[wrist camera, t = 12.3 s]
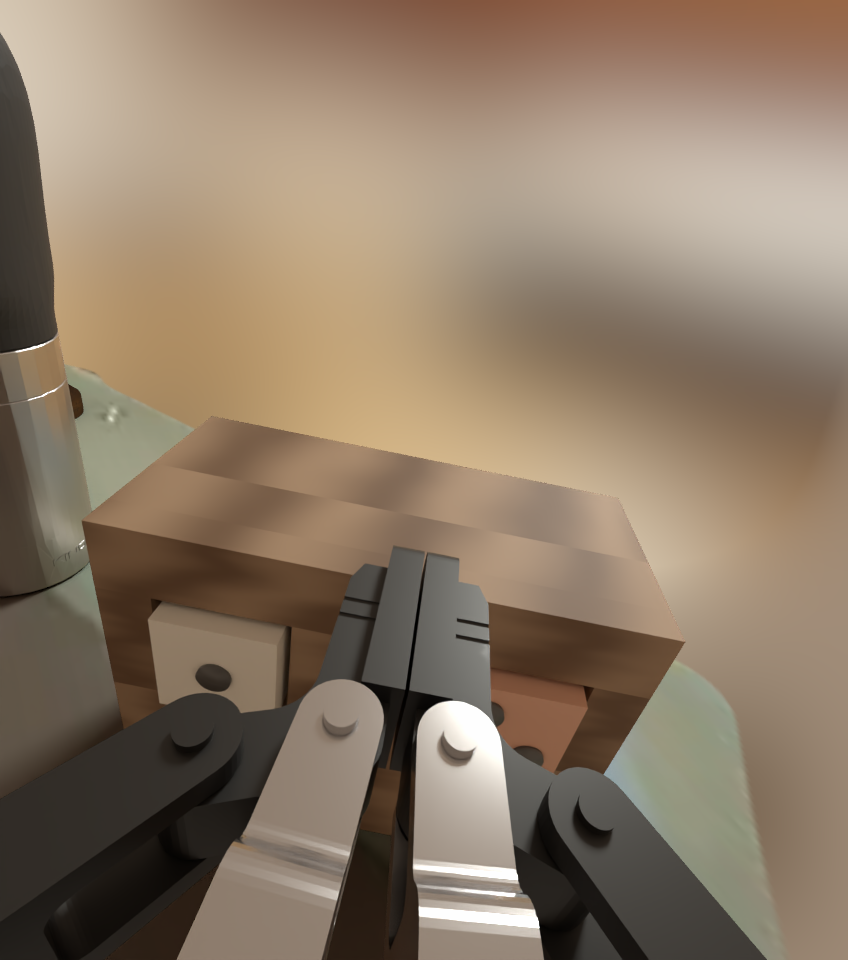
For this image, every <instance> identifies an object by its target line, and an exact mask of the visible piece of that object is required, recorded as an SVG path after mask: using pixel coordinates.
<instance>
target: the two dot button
mask: <svg viewBox="0 0 848 960" xmlns="http://www.w3.org/2000/svg"><path fill="white" fill-rule="evenodd" d="M490 681H491V710H492V716H493V720H494V723H495V725H496V727H497V729H498V731H499V733H500V735H501V736H502V737H503V739H504V740H505V741H506V743H507V744H508V745H509V746H510V747H511V748H512V749H513V750H515V751H516V752H517V753H518V754H520V755H521V756H523V757H524V758H526V759H528V760H530V761H531V762H533V763H535V764H537V765H539V766H541V767H543V768H544V769H546V770H548V771H550V772H552V773H554V771H555V770H556V768H557V766H558V764H559V762H560V760H561V758H562V756H563V754H564V753H565V751H566V749H567V747H568V745H569V743H570V741H571V739H572V737H573V736H574V734H575V732H576V730H577V728H578V726H579V724H580V722H581V720H582V719H583V717H584V715H585V713H586V711H587V709H588V706H587V701H586V696H585V692H584V687H583V685H578V684H573V683H568V682H563V681H558V680H553V679H548V678H543V677H538V676H533V675H528V674H523V673H518V672H513V671H508V670H503V669H498V668H493V667H490Z"/></svg>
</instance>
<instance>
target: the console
mask: <svg viewBox="0 0 848 960" xmlns="http://www.w3.org/2000/svg"><path fill="white" fill-rule="evenodd" d="M81 521H82V526H83V531H84V536H85V541H86V546H87V551H88V556H89V560H90V565H91V570H92V575H93V580H94V585H95V590H96V595H97V600H98V605H99V610H100V615H101V619H102V624H103V629H104V634H105V639H106V644H107V649H108V654H109V659H110V664H111V669H112V674H113V678H114V683H115V688H116V693H117V698H118V703H119V708H120V713H121V718H122V723H123V728H124V729H125V728H127V727H129V726H130V725H132V724H134V723H136V722H138V721H139V720H141V719H143V718H145V717H146V716H148V715H150V714H152V713H153V712H155V711H157V710H159V709H161V708H162V707H164V706H166V705H167V704H162V703H159V696H158V689H157V682H156V675H155V667H154V660H153V653H152V646H151V639H150V632H149V624H148V619H149V617H150V616H151V615H152V613H153V612H154V611H155V610H156V608H157V607H158V606H159V605H160V603H161V602H162V601H165V602H170V603H175V604H180V605H185V606H190V607H195V608H200V609H205V610H210V611H215V612H220V613H225V614H230V615H235V616H240V617H245V618H250V619H255V620H260V621H265V622H270V623H275V624H280V625H285V626H290V627H292V632H291V649H290V666H289V683H288V692H287V694H286V697H285V700H284V702H283V705H282V707H283V706H286V705H289V704H291V703H293V702H295V701H296V700H298V699H300V698H301V697H302V696H304V695H305V694H306V693H307V692H308V691H309V690H310V689H311V688H312V687H313V685H314V684H315V682H316V680H317V678H318V676H319V673H320V670H321V667H322V664H323V661H324V658H325V655H326V652H327V649H328V646H329V643H330V639H331V636H332V633H333V630H334V627H335V624H336V621H337V618H338V615H339V612H340V609H341V606H342V603H343V600H344V597H345V593H346V590H347V587H348V584H349V581H350V578H351V577H352V576H353V575H354V574H355V573H356V572H357V571H358V570H359V569H360V568H361V567H362V566H363V565H364V564H365V563H366V564H371V565H376V566H381V567H386V568H388V566H389V561H390V557H391V553H392V549H393V545H395V546H401V547H406V548H411V549H416V550H421V551H425V555H424V562H423V568H424V563H425V559H426V555H427V552H431V553H436V554H441V555H446V556H451V557H456V558H459V582H463V583H468V584H473V585H478V586H479V587H480V589H481V591H482V593H483V595H484V597H485V599H486V601H487V603H488V608H489V626H488V628H489V645H490V667H493V668H498V669H503V670H508V671H513V672H518V673H523V674H528V675H533V676H538V677H543V678H548V679H553V680H558V681H563V682H568V683H573V684H578V685H583V687H584V692H585V696H586V701H587V706H588V709H587V711H586V713H585V715H584V717H583V719H582V720H581V722H580V724H579V726H578V728H577V730H576V732H575V734H574V736H573V737H572V739H571V741H570V743H569V745H568V747H567V749H566V751H565V753H564V754H563V756H562V758H561V760H560V762H559V764H558V766H557V768H556V770H555V771H554V774H555V775H558V774H559V773H560V772H562V771H564V770H566V769H569V768H573V767H582V768H588V769H591V770H594V771H597V772H599V773H601V774H604V773H605V771H606V769H607V768H608V766H609V765H610V763H611V761H612V760H613V758H614V756H615V755H616V753H617V752H618V750H619V748H620V747H621V745H622V744H623V742H624V740H625V739H626V737H627V735H628V734H629V732H630V731H631V729H632V727H633V726H634V724H635V722H636V721H637V719H638V718H639V716H640V714H641V713H642V711H643V710H644V708H645V706H646V705H647V703H648V701H649V700H650V698H651V697H652V695H653V693H654V692H655V690H656V689H657V687H658V685H659V684H660V682H661V680H662V679H663V677H664V676H665V674H666V672H667V671H668V669H669V667H670V666H671V664H672V663H673V661H674V659H675V658H676V656H677V654H678V653H679V651H680V650H681V648H682V646H683V644H684V643H685V640H684V638H683V636H682V634H681V632H680V629H679V627H678V625H677V623H676V621H675V619H674V617H673V614H672V613H671V610H670V608H669V606H668V604H667V602H666V599H665V597H664V595H663V593H662V591H661V589H660V587H659V585H658V582H657V580H656V578H655V576H654V574H653V572H652V569H651V567H650V565H649V563H648V561H647V559H646V557H645V554H644V552H643V550H642V548H641V546H640V544H639V542H638V539H637V537H636V535H635V533H634V531H633V529H632V527H631V524H630V522H629V520H628V518H627V516H626V514H625V512H624V510H623V507H622V505H621V503H620V501H619V499H618V498H616V497H611V496H606V495H601V494H596V493H591V492H586V491H581V490H576V489H571V488H566V487H561V486H556V485H552V484H547V483H542V482H536V481H531V480H527V479H522V478H517V477H512V476H507V475H502V474H497V473H492V472H487V471H482V470H477V469H472V468H467V467H462V466H457V465H452V464H447V463H442V462H437V461H432V460H427V459H422V458H417V457H412V456H407V455H402V454H398V453H393V452H388V451H382V450H377V449H373V448H367V447H363V446H358V445H353V444H348V443H343V442H337V441H333V440H328V439H323V438H318V437H313V436H308V435H303V434H298V433H293V432H288V431H283V430H278V429H273V428H268V427H263V426H258V425H253V424H248V423H244V422H239V421H234V420H229V419H224V418H218V417H214V416H211V417H210V418H209V419H208V420H206V421H205V422H204V423H203V424H201V425H200V426H199V427H198V428H196V429H195V430H194V431H193V432H191V433H190V434H189V435H188V436H186V437H185V438H184V439H183V440H181V441H180V442H179V443H178V444H176V445H175V446H174V447H173V448H171V449H170V450H169V451H168V452H166V453H165V454H164V455H162V456H161V457H160V458H159V459H157V460H156V461H155V462H154V463H152V464H151V465H150V466H149V467H147V468H146V469H145V470H144V471H142V472H141V473H140V474H139V475H137V476H136V477H135V478H134V479H132V480H131V481H130V482H129V483H127V484H126V485H125V486H124V487H122V488H121V489H120V490H119V491H117V492H116V493H115V494H114V495H112V496H111V497H110V498H109V499H107V500H106V501H105V502H104V503H102V504H101V505H100V506H99V507H97V508H96V509H95V510H94V511H92V512H91V513H90V514H89V515H87V516H86V517H85V518H84V519H82V520H81ZM422 572H423V569H422ZM394 734H395V733H394ZM393 741H394V737H393ZM393 741H392V745H391V749H390V753H389V757H388V761H387V765H386V769H383V768H378V769H377V773H376V777H375V782H374V786H373V790H372V795H371V799H370V803H369V805H368V808H367V810H366V812H365V813H364V815H363V817H362V821H361V825H360V829H361V830H366V831H371V832H376V833H381V834H386V835H391V834H392V820H393V813H394V810H395V806H396V803H397V799H398V792H399V784H400V776H401V772H400V771H395V770H390V769H389V768H390V761H391V754H392V748H393Z"/></svg>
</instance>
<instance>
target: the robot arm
mask: <svg viewBox="0 0 848 960" xmlns="http://www.w3.org/2000/svg"><path fill="white" fill-rule="evenodd" d="M91 512H92V510H91V504H90V498H89V492H88V487H87V482H86V476H85V471H84V466H83V460H82V455H81V450H80V445H79V439H78V434H77V429H76V423H75V418H74V413H73V407H72V402H71V397H70V391H69V386H68V381H67V376H66V371H65V366H64V361H63V355H62V350H61V346H60V339H59V334H58V329H57V324H56V318H55V313H54V271H53V262H52V256H51V250H50V243H49V237H48V229H47V222H46V214H45V206H44V199H43V190H42V180H41V172H40V163H39V154H38V146H37V140H36V133H35V126H34V121H33V116H32V112H31V107H30V103H29V99H28V95H27V91H26V88H25V86H24V82H23V79H22V76H21V73H20V71H19V68H18V66H17V64H16V62H15V59H14V57H13V55H12V53H11V51H10V49H9V47H8V45H7V43H6V41H5V40H4V38H3V36H2V35H1V34H0V596H12V595H18V594H24V593H29V592H33V591H36V590H40V589H43V588H46V587H49V586H51V585H54V584H56V583H59V582H61V581H63V580H65V579H67V578H68V577H70V576H72V575H74V574H75V573H77V572H78V571H79V570H81V569H82V568H83V567H84V566H86V565H87V563H88V562H89V561H90V560H89V556H88V551H87V546H86V541H85V536H84V531H83V526H82V521H81V520H82V519H84V518H85V517H86V516H87V515H89V514H90V513H91ZM424 555H425V551H421V550H416V549H411V548H406V547H401V546H395V545H393V549H392V553H391V557H390V561H389V566H388V568H386V567H381V566H376V565H371V564H366V563H365V564H364V565H363V566H362V567H361V568H360V569H359V570H358V571H357V572H356V573H355V574H354V575H353V576H352V577H351V578H350V581H349V584H348V587H347V590H346V593H345V597H344V600H343V603H342V606H341V609H340V612H339V615H338V618H337V621H336V624H335V627H334V630H333V633H332V636H331V639H330V643H329V646H328V649H327V652H326V655H325V658H324V661H323V664H322V667H321V670H320V673H319V676H318V678H317V680H316V682H315V684H314V685H313V687H312V688H311V689H310V690H309V691H308V692H307V693H306V694H305V695H304V696H302V697H301V698H300V699H298V700H296V701H295V702H293V703H291V704H289V705H286V706H283V707H280V708H275V709H269V710H261V711H253V712H244V713H241V712H240V711H239V709H238V707H237V706H236V705H235V704H234V703H233V702H232V701H230V700H229V699H228V698H226V697H223V696H221V695H218V694H214V693H196V694H191V695H187V696H184V697H182V698H179V699H177V700H175V701H173V702H171V703H169V704H168V705H166V706H164V707H162V708H161V709H159V710H157V711H155V712H153V713H152V714H150V715H148V716H146V717H145V718H143V719H141V720H139V721H138V722H136V723H134V724H132V725H130V726H129V727H127V728H125V729H123V730H122V731H120V732H118V733H116V734H115V735H113V736H111V737H109V738H107V739H106V740H104V741H102V742H100V743H99V744H97V745H95V746H93V747H92V748H90V749H88V750H86V751H84V752H83V753H81V754H79V755H77V756H76V757H74V758H72V759H70V760H69V761H67V762H65V763H63V764H61V765H60V766H58V767H56V768H54V769H53V770H51V771H49V772H47V773H46V774H44V775H42V776H40V777H38V778H37V779H35V780H33V781H31V782H30V783H28V784H26V785H24V786H22V787H21V788H19V789H17V790H15V791H14V792H12V793H10V794H8V795H7V796H5V797H3V798H1V799H0V960H104V959H105V958H106V957H108V956H109V955H110V954H111V953H112V952H114V951H115V950H116V949H117V948H118V947H120V946H121V945H122V944H123V943H124V942H126V941H127V940H128V939H129V938H130V937H132V936H133V935H134V934H135V933H136V932H138V931H139V930H140V929H141V928H142V927H144V926H145V925H146V924H147V923H148V922H150V921H151V920H152V919H153V918H154V917H156V916H157V915H158V914H159V913H160V912H162V911H163V910H164V909H165V908H166V907H168V906H169V905H170V904H171V903H172V902H174V901H175V900H176V899H177V898H178V897H180V896H181V895H182V894H183V893H184V892H186V891H187V890H188V889H189V888H190V887H192V886H193V885H194V884H195V883H196V882H198V881H199V880H200V879H201V878H202V877H204V876H205V875H206V874H207V873H208V872H210V871H211V870H212V869H213V868H214V867H216V866H217V865H218V864H219V863H220V862H221V863H220V865H219V867H218V869H217V871H216V874H215V876H214V878H213V880H212V882H211V885H210V887H209V889H208V891H207V893H206V896H205V898H204V900H203V902H202V905H201V907H200V909H199V911H198V913H197V916H196V918H195V920H194V922H193V925H192V927H191V929H190V931H189V933H188V936H187V938H186V940H185V942H184V944H183V947H182V949H181V951H180V953H179V956H178V958H177V960H327V955H328V951H329V947H330V943H331V939H332V935H333V931H334V927H335V923H336V919H337V916H338V912H339V908H340V904H341V900H342V896H343V892H344V888H345V884H346V880H347V876H348V872H349V868H350V864H351V860H352V856H353V853H354V849H355V845H356V841H357V837H358V833H359V829H360V825H361V821H362V817H363V815H364V813H365V812H366V810H367V808H368V805H369V803H370V799H371V795H372V790H373V786H374V782H375V777H376V773H377V769H378V768H383V769H386V765H387V761H388V757H389V753H390V749H391V745H392V741H393V737H394V741H393V748H392V754H391V761H390V768H389V769H390V770H395V771H400V772H401V776H400V784H399V792H398V799H397V803H396V806H395V810H394V813H393V820H392V834H391V849H390V865H389V880H388V895H387V911H386V926H385V941H384V953H383V960H767V959H766V958H765V957H764V956H763V955H762V953H761V952H760V951H759V950H758V949H757V948H756V946H755V945H754V944H753V943H752V942H751V941H750V939H749V938H748V937H747V936H746V935H745V934H744V932H743V931H742V930H741V929H740V928H739V927H738V925H737V924H736V923H735V922H734V921H733V919H732V918H731V917H730V916H729V915H728V914H727V912H726V911H725V910H724V909H723V908H722V907H721V905H720V904H719V903H718V902H717V901H716V900H715V898H714V897H713V896H712V895H711V894H710V893H709V891H708V890H707V889H706V888H705V887H704V886H703V884H702V883H701V882H700V881H699V880H698V879H697V877H696V876H695V875H694V874H693V873H692V872H691V870H690V869H689V868H688V867H687V866H686V865H685V863H684V862H683V861H682V860H681V859H680V858H679V856H678V855H677V854H676V853H675V852H674V851H673V849H672V848H671V847H670V846H669V845H668V844H667V842H666V841H665V840H664V839H663V838H662V837H661V835H660V834H659V833H658V832H657V831H656V830H655V828H654V827H653V826H652V825H651V824H650V823H649V821H648V820H647V819H646V818H645V817H644V816H643V814H642V813H641V812H640V811H639V810H638V809H637V807H636V806H635V805H634V804H633V803H632V802H631V800H630V799H629V798H628V797H627V796H626V794H625V793H624V792H623V791H622V790H621V789H620V788H619V787H618V786H617V785H616V784H615V783H614V782H613V781H611V780H610V779H609V778H607V777H606V776H604V775H603V774H601V773H599V772H597V771H594V770H591V769H588V768H582V767H573V768H569V769H566V770H564V771H562V772H560V773H559V774H558V775H555V774H554V773H552V772H550V771H548V770H546V769H544V768H543V767H541V766H539V765H537V764H535V763H533V762H531V761H530V760H528V759H526V758H524V757H523V756H521V755H520V754H518V753H517V752H516V751H515V750H513V749H512V748H511V747H510V746H509V745H508V744H507V743H506V741H505V740H504V739H503V737H502V736H501V735H500V733H499V731H498V729H497V727H496V725H495V723H494V720H493V716H492V710H491V681H490V645H489V628H488V626H489V608H488V603H487V601H486V599H485V597H484V595H483V593H482V591H481V589H480V587H479V586H478V585H473V584H468V583H463V582H459V558H456V557H451V556H446V555H441V554H436V553H431V552H427V555H426V559H425V563H424V568H423V562H424ZM422 569H423V572H422ZM394 733H395V734H394Z"/></svg>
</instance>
